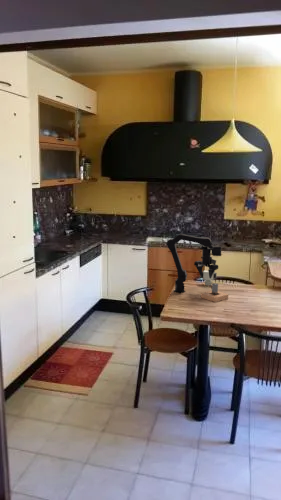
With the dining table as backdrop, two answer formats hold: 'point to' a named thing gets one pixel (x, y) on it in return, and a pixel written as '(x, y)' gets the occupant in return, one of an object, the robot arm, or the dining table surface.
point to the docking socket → (214, 296)
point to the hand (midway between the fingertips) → (205, 276)
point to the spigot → (214, 289)
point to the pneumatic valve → (206, 277)
